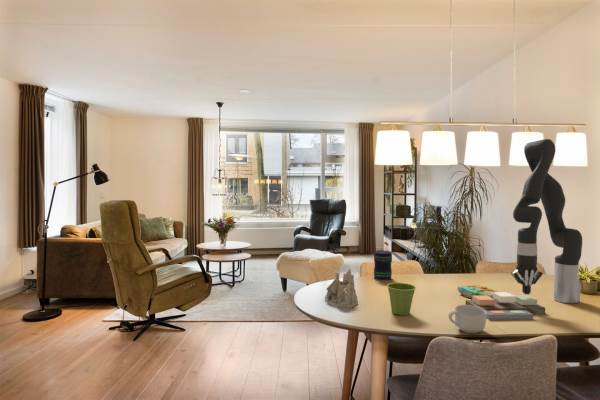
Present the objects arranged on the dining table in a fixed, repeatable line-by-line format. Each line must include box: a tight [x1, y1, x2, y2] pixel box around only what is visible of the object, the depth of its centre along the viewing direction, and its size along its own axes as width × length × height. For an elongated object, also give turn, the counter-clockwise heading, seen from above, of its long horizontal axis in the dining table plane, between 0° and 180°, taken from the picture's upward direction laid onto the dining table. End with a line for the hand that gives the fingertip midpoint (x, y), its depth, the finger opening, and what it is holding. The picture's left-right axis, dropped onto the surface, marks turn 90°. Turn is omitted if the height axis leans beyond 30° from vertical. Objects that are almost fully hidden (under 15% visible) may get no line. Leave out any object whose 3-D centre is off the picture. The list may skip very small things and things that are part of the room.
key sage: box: [513, 294, 538, 305], centre depth 177 cm, size 6×6×2 cm
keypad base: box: [464, 299, 546, 315], centre depth 177 cm, size 28×12×2 cm, turn 92°
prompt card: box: [486, 310, 534, 321], centre depth 167 cm, size 18×5×2 cm, turn 92°
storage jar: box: [373, 250, 393, 281], centre depth 234 cm, size 10×10×15 cm
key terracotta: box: [471, 295, 495, 306], centre depth 177 cm, size 6×6×2 cm
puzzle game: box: [457, 284, 498, 300], centre depth 194 cm, size 12×5×20 cm
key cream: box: [493, 291, 516, 302], centre depth 177 cm, size 6×6×2 cm
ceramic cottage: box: [324, 268, 359, 309], centre depth 188 cm, size 16×16×15 cm
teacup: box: [448, 304, 487, 334], centre depth 152 cm, size 14×11×8 cm
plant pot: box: [386, 282, 417, 316], centre depth 172 cm, size 12×12×11 cm
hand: (526, 293), depth 177 cm, fingers closed
